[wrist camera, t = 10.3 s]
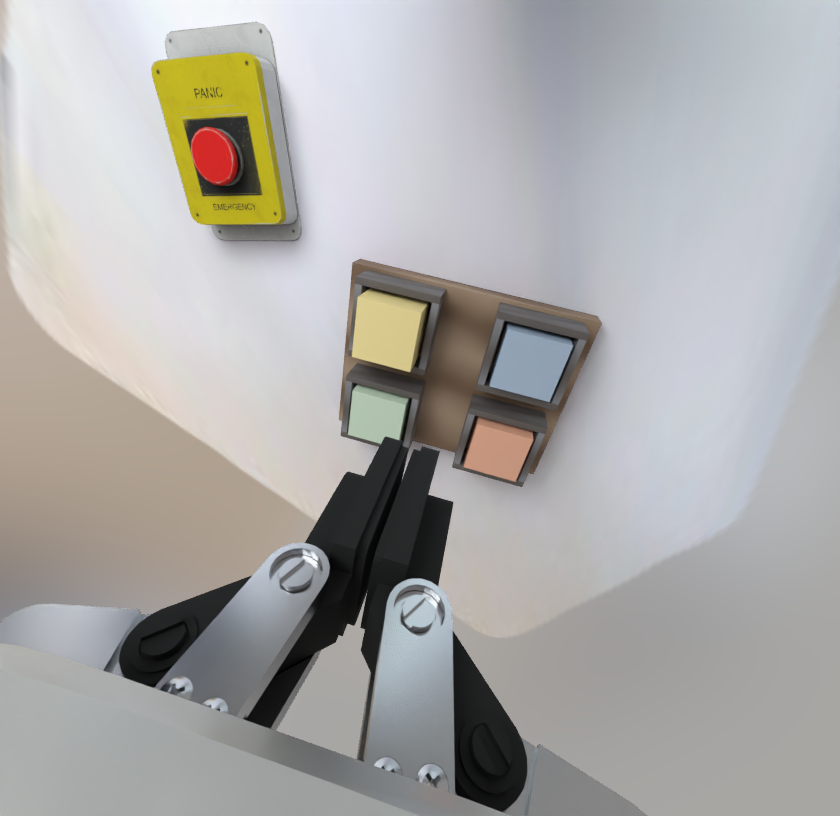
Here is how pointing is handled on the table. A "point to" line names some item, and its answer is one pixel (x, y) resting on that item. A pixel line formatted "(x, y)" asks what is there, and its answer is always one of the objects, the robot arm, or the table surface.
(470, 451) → the terracotta button
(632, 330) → the table surface
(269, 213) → the emergency button
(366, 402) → the sage button
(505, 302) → the console
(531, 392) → the slate button
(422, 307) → the mustard button
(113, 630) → the robot arm
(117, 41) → the table surface
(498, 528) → the table surface
